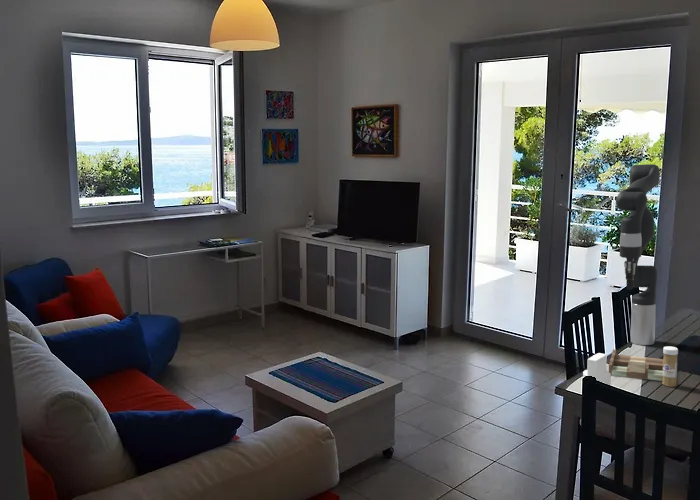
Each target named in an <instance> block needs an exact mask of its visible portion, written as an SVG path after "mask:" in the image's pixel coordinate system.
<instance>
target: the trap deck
mask: <svg viewBox="0 0 700 500" xmlns="http://www.w3.org/2000/svg"><path fill="white" fill-rule="evenodd" d="M631 356H632V355H625V354H617V349H613V350H612V352H611V356H610V359H609V363H608V372H609V373H610V374H611V376H615V377H623V378H634V379H644V380H650V381H659V382H663V359H664V358H655V357H648V356H647V357H646V356H645V357H646V363H645V373H638V372H630V358H631ZM636 357H638V356H636Z"/></svg>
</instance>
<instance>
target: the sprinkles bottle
mask: <svg viewBox="0 0 700 500" xmlns="http://www.w3.org/2000/svg"><path fill="white" fill-rule="evenodd" d="M662 352H663V358H662V359H663V381H661V383H662V385H663V386H665V387H676V386H677V378H678V377H677V375H678V374H677V373H678V354H679V349H678V348H677V347H676V346H671V345H670V346H663V350H662Z"/></svg>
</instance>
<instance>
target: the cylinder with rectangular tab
mask: <svg viewBox="0 0 700 500" xmlns="http://www.w3.org/2000/svg"><path fill="white" fill-rule="evenodd" d="M607 357H608V355H607V353H601V352H598V353H596V354H594V355H592V356H590V357H589V358H587V361H586V362H587V363H586V364H587V368H586V369H584V371H583V372H582V378H583V377H585V376H592V377H595V378H596V379H597V380H598V381H601V382H604V383H606V384H608V385H612V383H611V382H612V381H611V380H612V379H611V378H612V375H611V374H610V373H609V370H608V371H607V362H608V360H607Z"/></svg>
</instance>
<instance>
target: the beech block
mask: <svg viewBox="0 0 700 500" xmlns="http://www.w3.org/2000/svg"><path fill="white" fill-rule="evenodd" d="M630 356H631V358H630V372H638V373H645V363H646V356H637V357H636V356H634V355H630Z"/></svg>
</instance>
